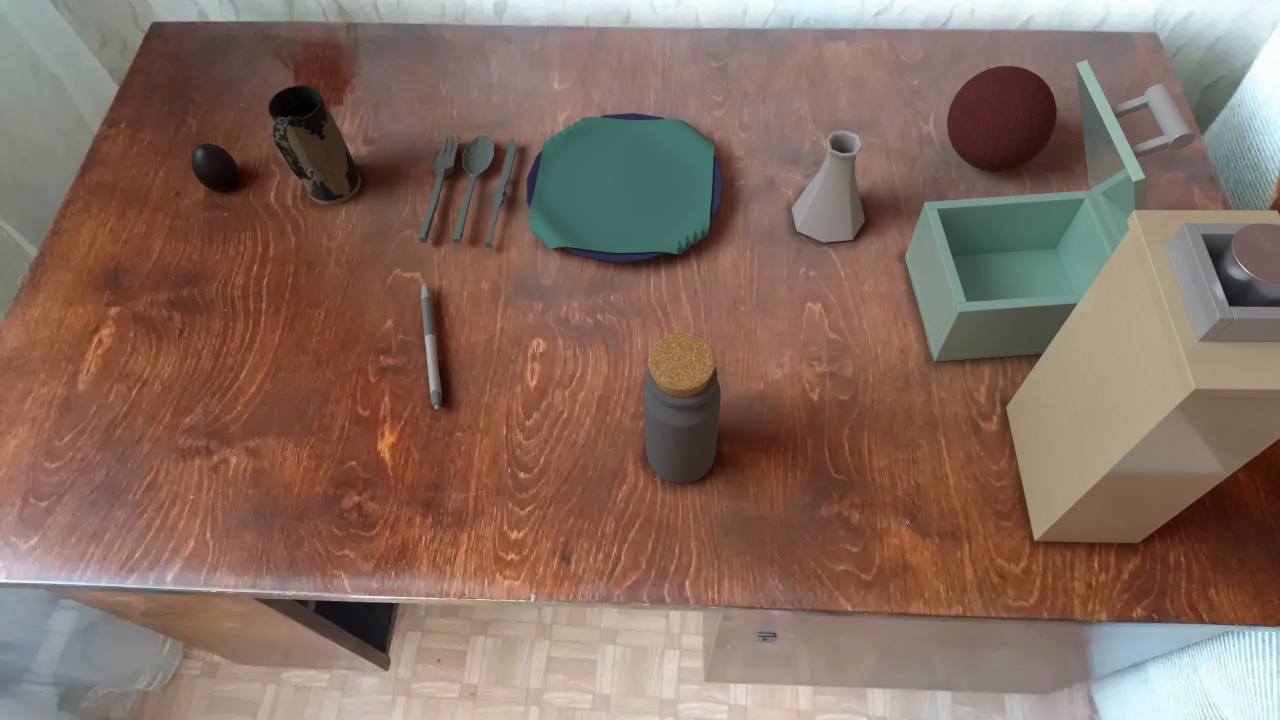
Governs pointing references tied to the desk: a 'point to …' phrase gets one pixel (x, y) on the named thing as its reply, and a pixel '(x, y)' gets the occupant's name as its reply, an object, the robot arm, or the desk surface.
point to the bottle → (681, 407)
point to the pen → (431, 347)
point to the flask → (832, 194)
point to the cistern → (1148, 386)
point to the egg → (214, 167)
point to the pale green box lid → (1123, 146)
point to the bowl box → (1004, 270)
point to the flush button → (1251, 266)
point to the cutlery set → (604, 187)
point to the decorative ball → (1001, 118)
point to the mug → (313, 144)
